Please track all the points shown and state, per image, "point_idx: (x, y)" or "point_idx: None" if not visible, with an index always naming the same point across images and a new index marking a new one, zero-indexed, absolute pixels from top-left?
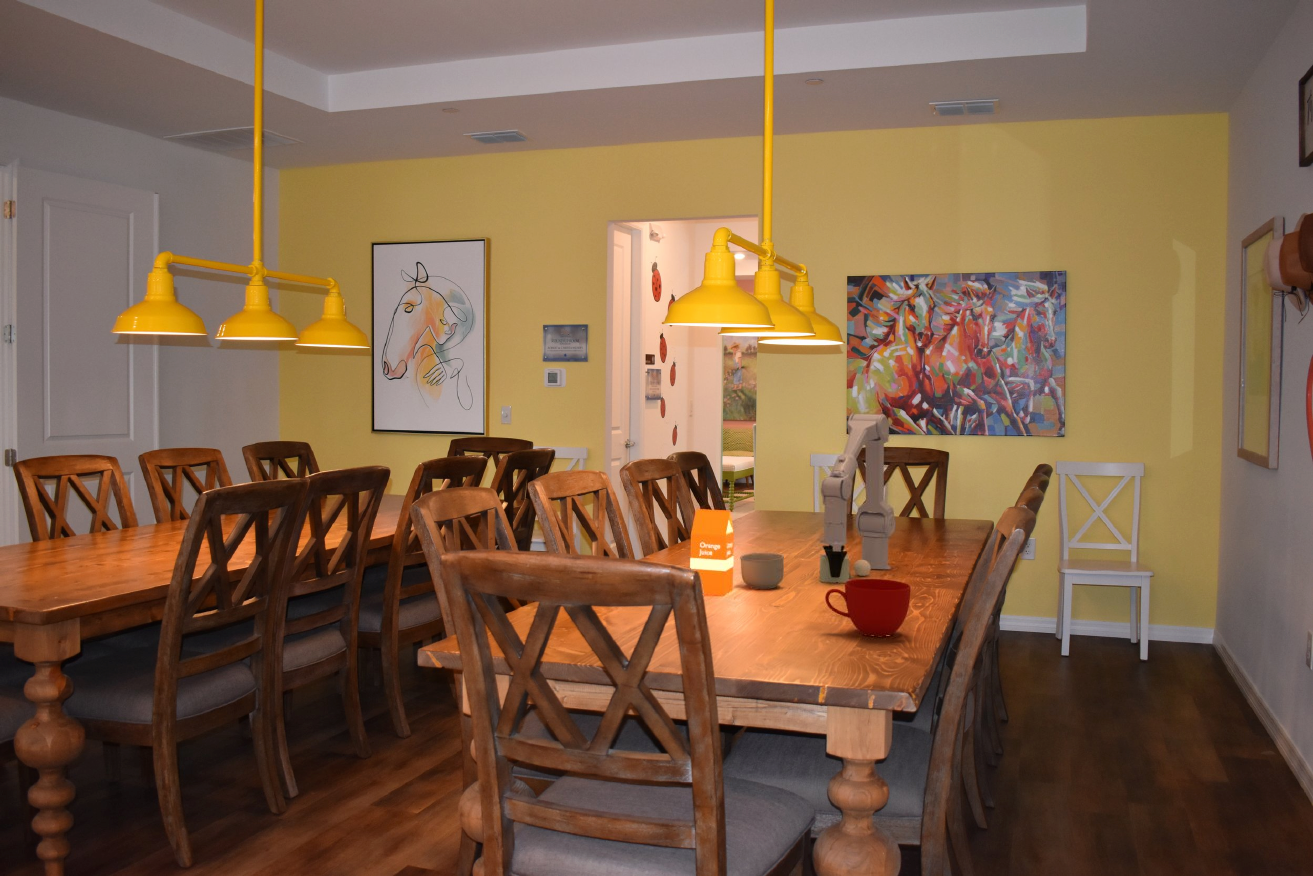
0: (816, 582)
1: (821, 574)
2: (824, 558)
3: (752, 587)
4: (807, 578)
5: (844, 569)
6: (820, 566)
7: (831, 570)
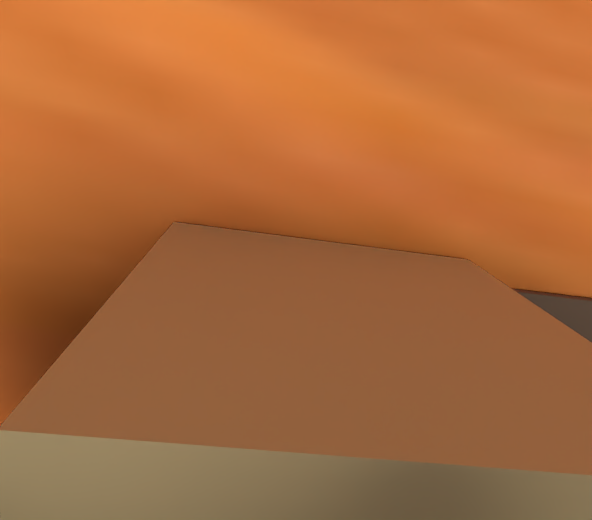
0: (148, 151)
1: (149, 251)
2: (9, 513)
3: None
4: (463, 83)
5: None
6: (438, 316)
7: None
